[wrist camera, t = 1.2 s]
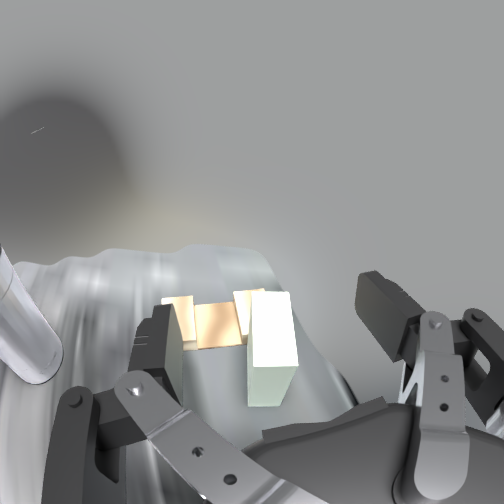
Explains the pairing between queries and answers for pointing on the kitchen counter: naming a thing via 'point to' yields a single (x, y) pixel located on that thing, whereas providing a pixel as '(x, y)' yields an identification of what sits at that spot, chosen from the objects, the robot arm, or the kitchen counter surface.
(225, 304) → the slot board
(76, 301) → the kitchen counter surface
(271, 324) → the tall mint green pillar
